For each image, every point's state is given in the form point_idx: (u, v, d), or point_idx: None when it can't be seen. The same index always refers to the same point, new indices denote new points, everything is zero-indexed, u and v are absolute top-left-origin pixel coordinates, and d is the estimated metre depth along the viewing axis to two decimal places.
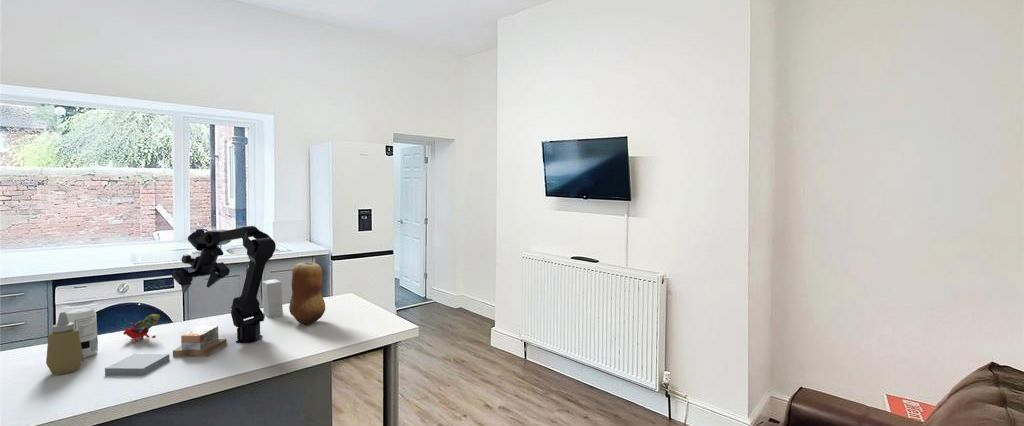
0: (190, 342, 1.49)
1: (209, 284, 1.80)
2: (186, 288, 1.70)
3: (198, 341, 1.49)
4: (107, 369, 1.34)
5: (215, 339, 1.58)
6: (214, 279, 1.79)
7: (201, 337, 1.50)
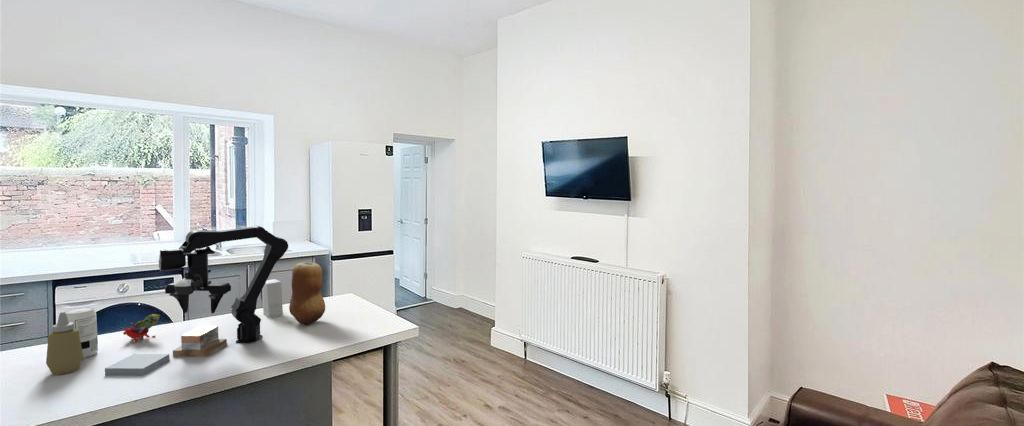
0: (190, 342, 1.49)
1: (186, 307, 1.54)
2: None
3: (198, 341, 1.49)
4: (107, 369, 1.34)
5: (215, 339, 1.58)
6: (187, 297, 1.54)
7: (201, 337, 1.50)
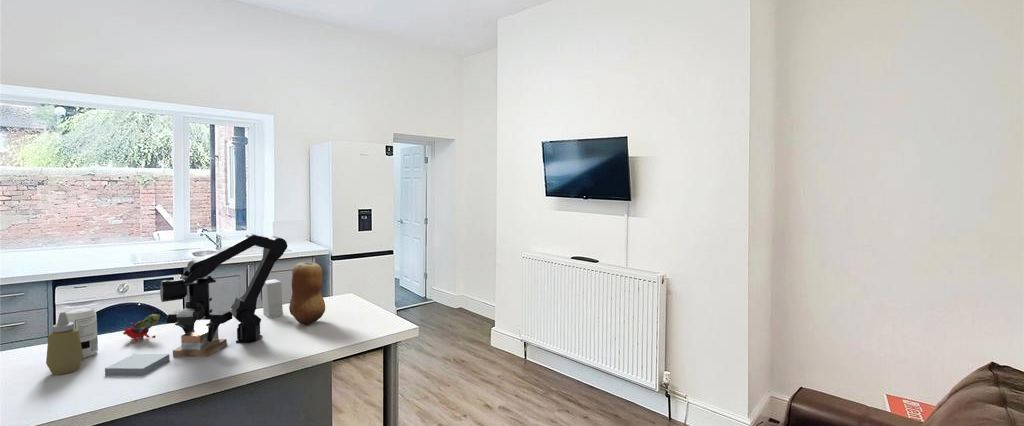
0: (190, 342, 1.49)
1: None
2: None
3: (198, 341, 1.49)
4: (107, 369, 1.34)
5: (215, 339, 1.58)
6: (192, 326, 1.55)
7: (201, 337, 1.50)
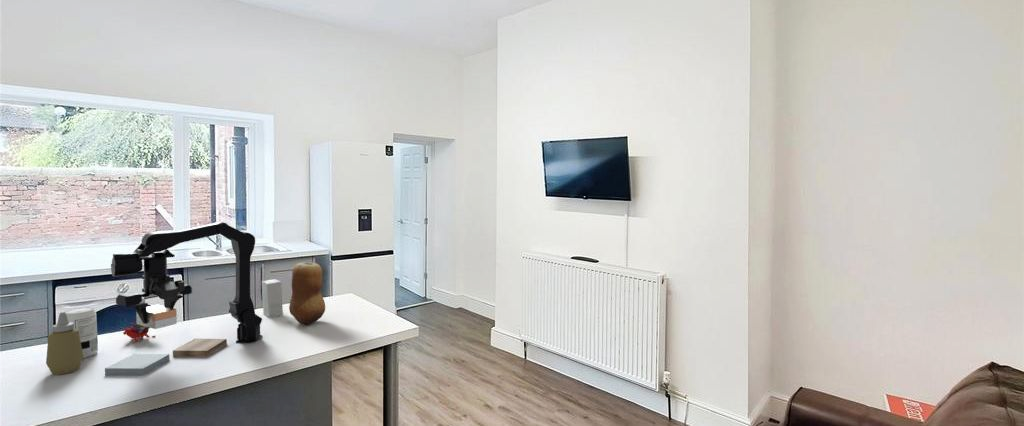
0: (165, 318, 1.41)
1: None
2: None
3: (174, 315, 1.43)
4: (107, 369, 1.34)
5: None
6: None
7: None
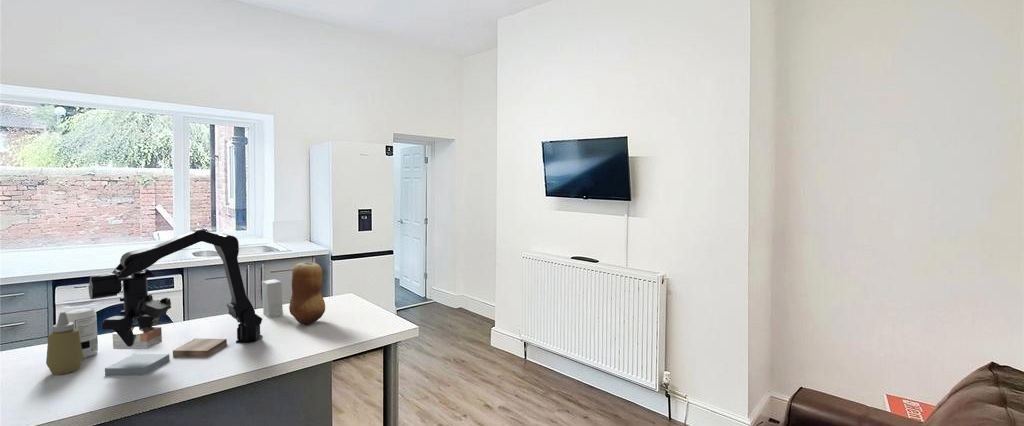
0: (154, 337, 1.39)
1: None
2: None
3: (160, 333, 1.42)
4: (107, 369, 1.34)
5: None
6: None
7: None
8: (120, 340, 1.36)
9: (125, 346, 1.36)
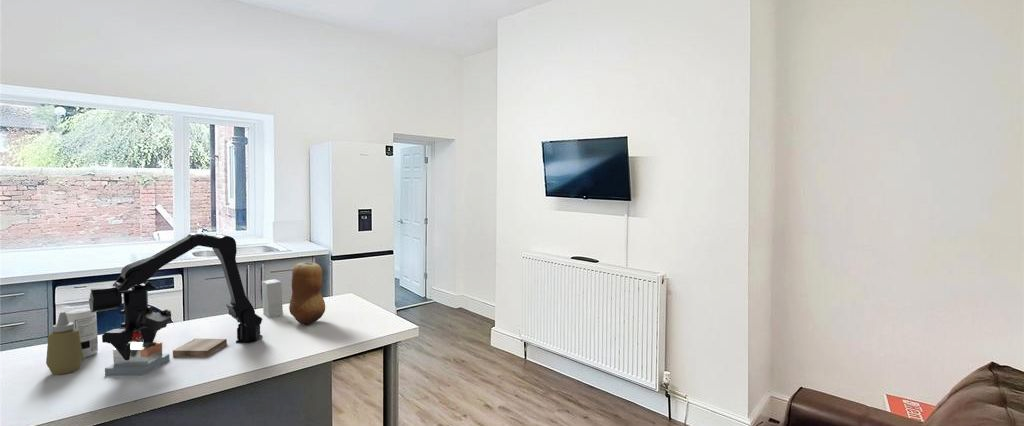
0: (154, 353, 1.40)
1: None
2: None
3: (160, 348, 1.42)
4: (107, 369, 1.34)
5: None
6: None
7: None
8: (121, 356, 1.36)
9: (125, 362, 1.37)
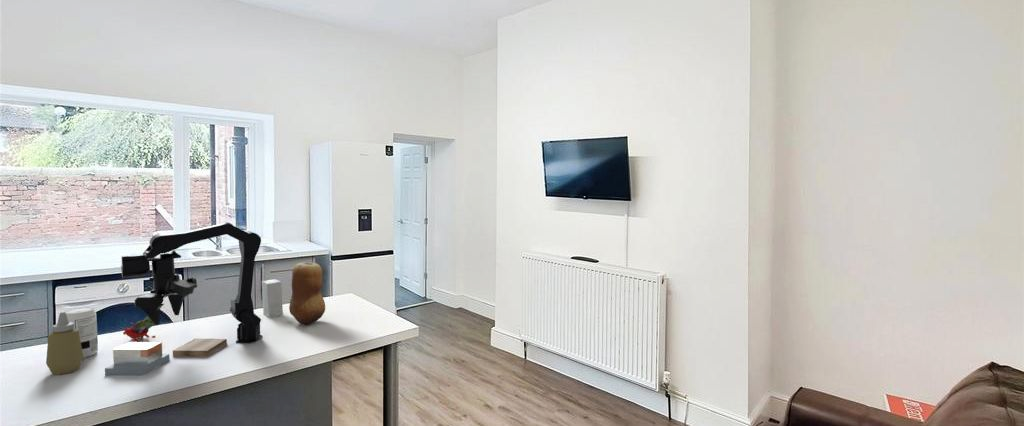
0: (154, 353, 1.40)
1: None
2: None
3: (160, 348, 1.42)
4: (107, 369, 1.34)
5: None
6: None
7: None
8: (121, 356, 1.36)
9: (125, 362, 1.37)
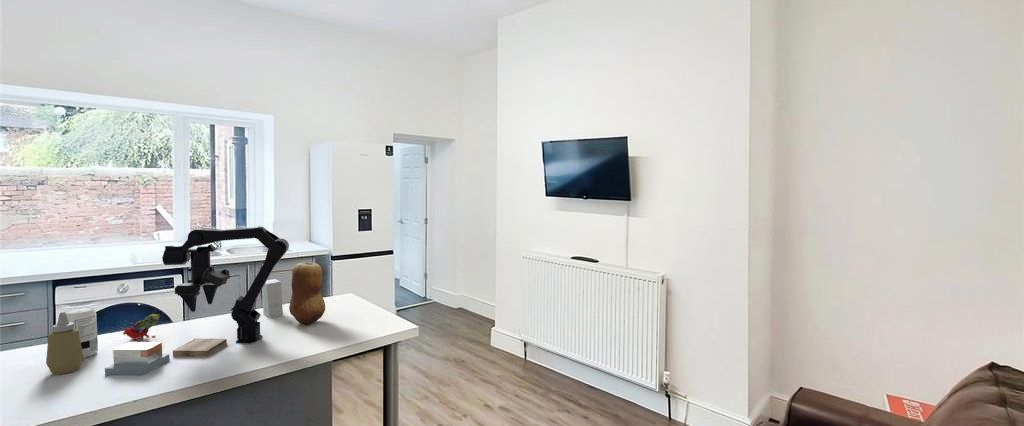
0: (154, 353, 1.40)
1: None
2: None
3: (160, 348, 1.42)
4: (107, 369, 1.34)
5: None
6: None
7: None
8: (121, 356, 1.36)
9: (125, 362, 1.37)
